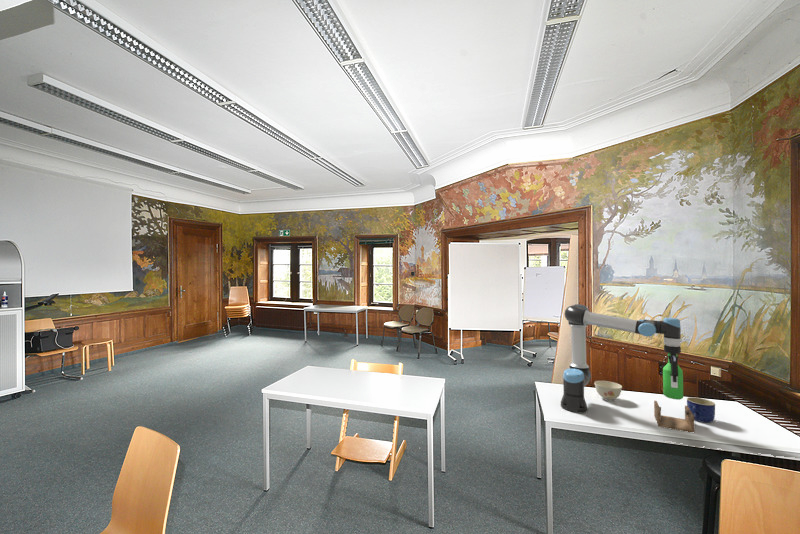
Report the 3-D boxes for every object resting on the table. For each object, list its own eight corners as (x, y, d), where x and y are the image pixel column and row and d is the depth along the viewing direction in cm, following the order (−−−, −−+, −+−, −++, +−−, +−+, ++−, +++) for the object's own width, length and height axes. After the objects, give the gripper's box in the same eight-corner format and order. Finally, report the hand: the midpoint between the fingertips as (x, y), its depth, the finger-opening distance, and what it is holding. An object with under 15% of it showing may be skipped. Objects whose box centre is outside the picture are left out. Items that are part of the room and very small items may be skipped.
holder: (658, 426, 186) (658, 409, 186) (654, 415, 200) (654, 400, 200) (694, 433, 178) (694, 415, 178) (687, 421, 192) (687, 405, 192)
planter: (709, 426, 186) (709, 406, 187) (682, 417, 197) (682, 399, 198) (719, 421, 192) (719, 402, 192) (692, 413, 203) (692, 395, 203)
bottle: (687, 400, 184) (686, 355, 184) (669, 399, 186) (668, 354, 186) (677, 395, 192) (676, 351, 193) (660, 394, 194) (659, 351, 195)
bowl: (591, 398, 227) (591, 384, 227) (598, 393, 238) (598, 379, 238) (618, 405, 215) (618, 390, 215) (625, 399, 226) (625, 384, 226)
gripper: (684, 349, 179) (685, 392, 178) (677, 342, 197) (677, 380, 196) (667, 348, 182) (667, 389, 182) (661, 341, 201) (661, 378, 200)
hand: (672, 385), depth 189 cm, fingers closed on bottle, 9 cm apart
